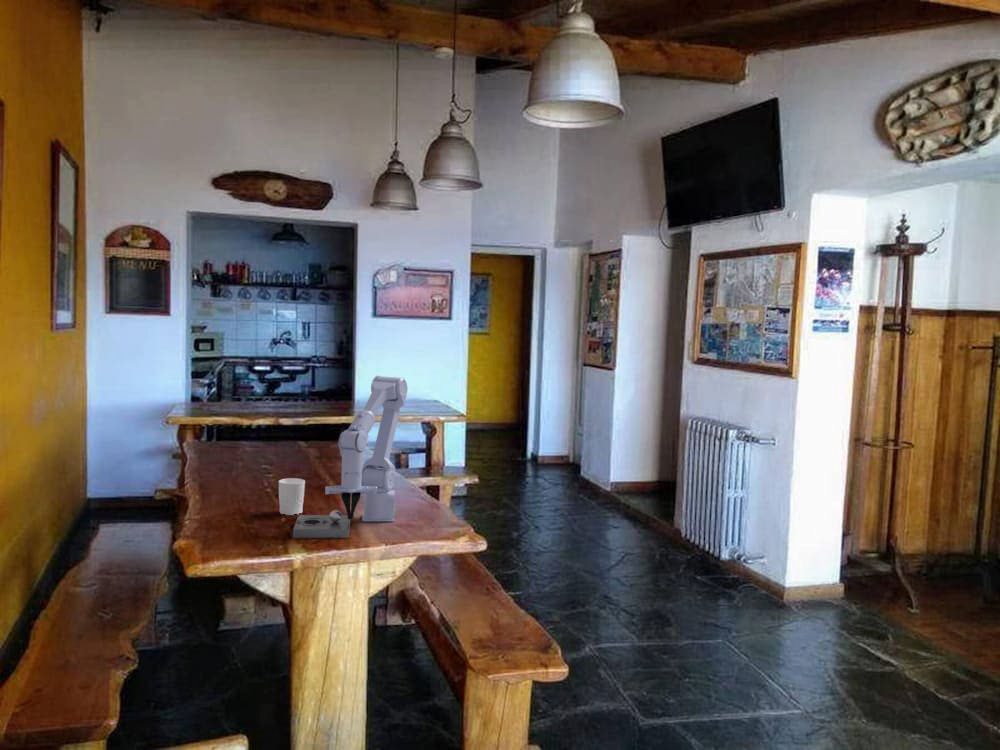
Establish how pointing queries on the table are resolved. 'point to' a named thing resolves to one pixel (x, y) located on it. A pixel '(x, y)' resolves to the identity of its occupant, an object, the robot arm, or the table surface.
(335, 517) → the steel ball
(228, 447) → the table surface
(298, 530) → the hole plate
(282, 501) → the white cup
